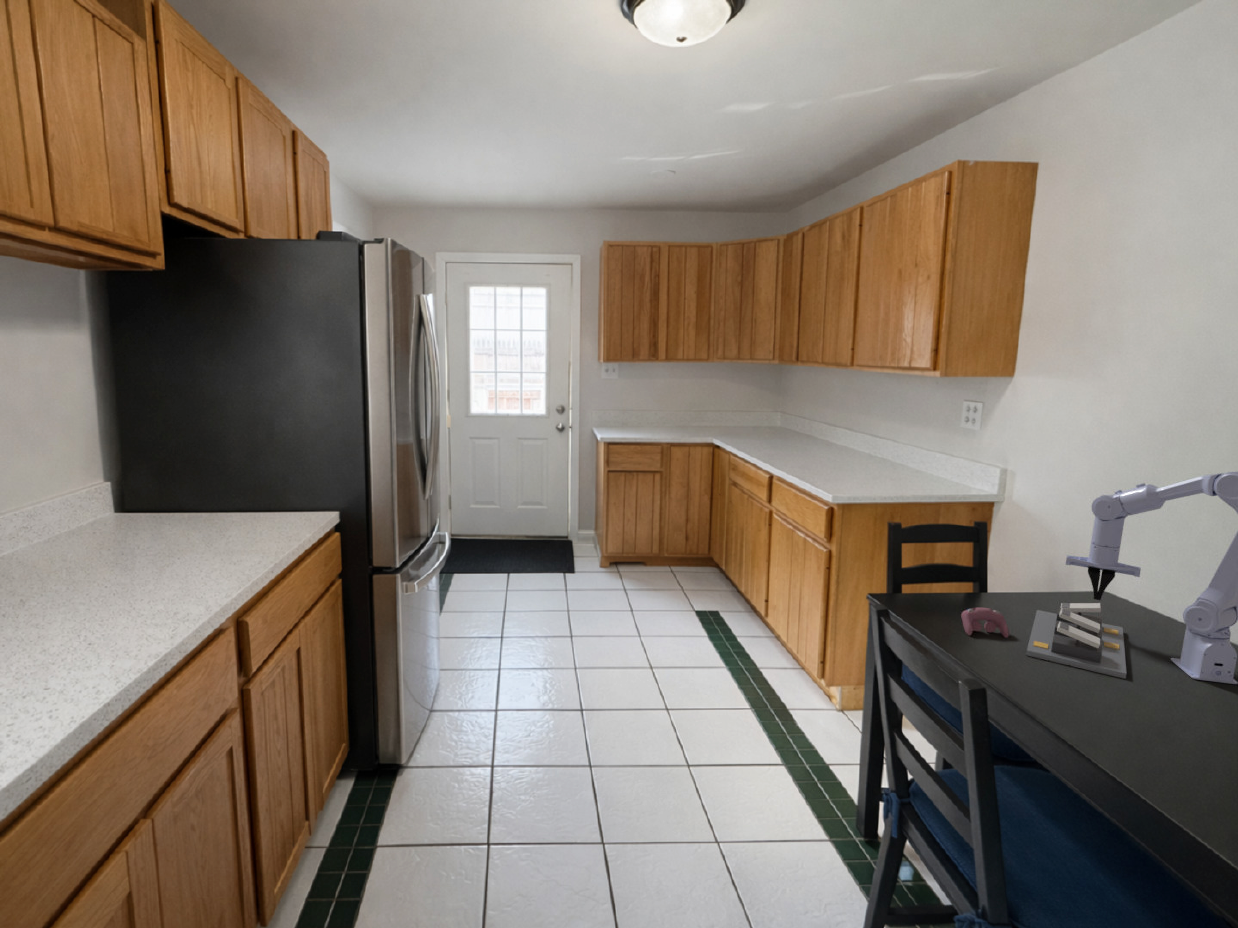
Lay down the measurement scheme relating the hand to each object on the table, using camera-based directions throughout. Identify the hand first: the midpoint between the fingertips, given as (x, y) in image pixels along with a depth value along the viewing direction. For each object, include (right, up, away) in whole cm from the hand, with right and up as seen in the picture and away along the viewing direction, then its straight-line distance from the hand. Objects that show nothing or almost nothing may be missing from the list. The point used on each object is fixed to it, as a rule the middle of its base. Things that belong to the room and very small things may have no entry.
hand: (1097, 598), depth 165 cm
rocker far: (-3, -3, +2) cm, 4 cm away
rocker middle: (-8, -4, -6) cm, 11 cm away
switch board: (-8, -9, -5) cm, 14 cm away
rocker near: (-14, -5, -14) cm, 20 cm away
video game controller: (-28, -8, 0) cm, 29 cm away
